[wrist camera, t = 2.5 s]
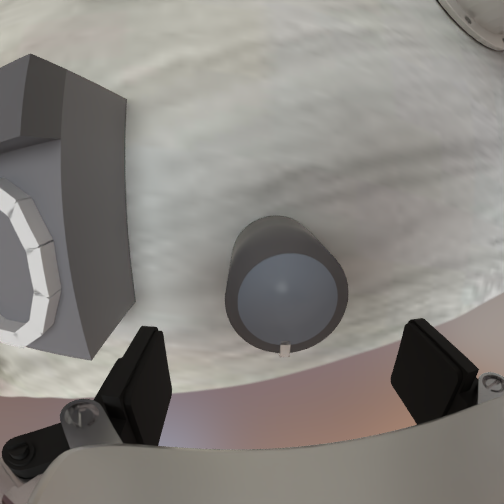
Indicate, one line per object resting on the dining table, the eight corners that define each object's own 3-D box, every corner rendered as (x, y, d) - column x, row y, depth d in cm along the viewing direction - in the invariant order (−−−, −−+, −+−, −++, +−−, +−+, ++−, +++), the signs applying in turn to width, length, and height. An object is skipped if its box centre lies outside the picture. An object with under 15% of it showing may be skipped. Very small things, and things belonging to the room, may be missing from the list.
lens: (319, 216, 20) (355, 241, 13) (313, 299, 22) (339, 353, 15) (231, 215, 20) (223, 240, 13) (232, 299, 22) (226, 357, 15)
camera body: (126, 99, 17) (30, 53, 7) (135, 301, 21) (68, 393, 11) (18, 124, 17) (-79, 121, 7) (32, 292, 21) (-45, 352, 11)
